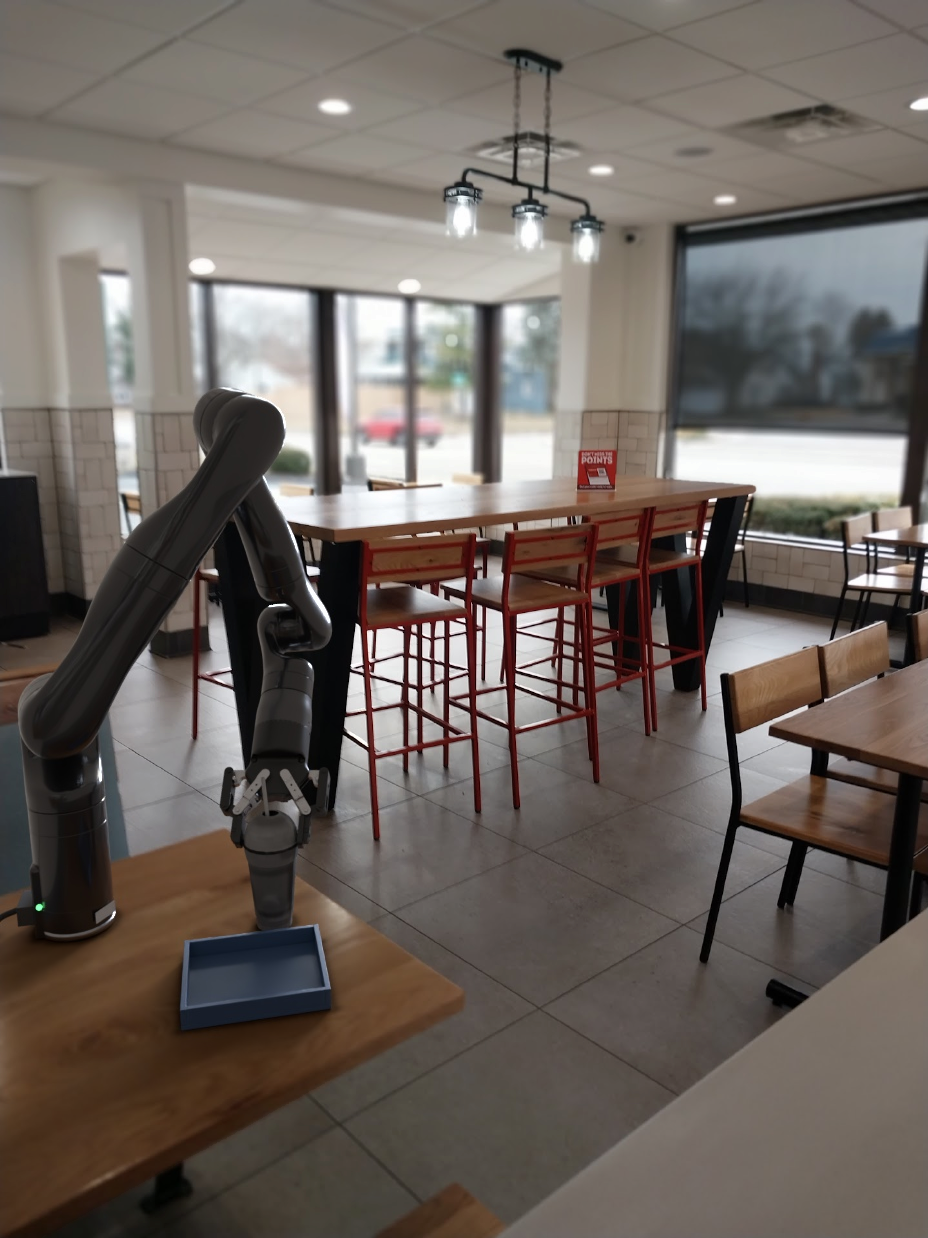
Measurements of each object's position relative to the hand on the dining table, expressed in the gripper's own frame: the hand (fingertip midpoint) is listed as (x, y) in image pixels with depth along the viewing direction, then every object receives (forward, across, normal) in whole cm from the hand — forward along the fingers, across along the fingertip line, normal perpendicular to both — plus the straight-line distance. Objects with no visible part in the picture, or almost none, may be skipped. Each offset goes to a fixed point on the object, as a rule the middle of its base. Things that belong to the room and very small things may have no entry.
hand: (269, 846), depth 120 cm
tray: (+17, 0, 0) cm, 17 cm away
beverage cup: (+7, 0, +9) cm, 12 cm away
